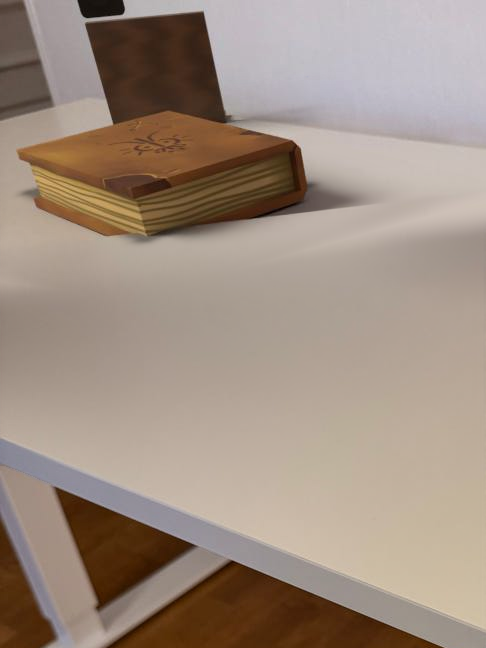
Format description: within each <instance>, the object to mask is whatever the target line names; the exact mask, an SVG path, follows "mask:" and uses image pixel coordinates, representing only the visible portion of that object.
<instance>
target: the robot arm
mask: <svg viewBox="0 0 486 648" xmlns="http://www.w3.org/2000/svg"><path fill="white" fill-rule="evenodd" d="M76 1H77V4H78V9H79V11H80V14H81V16H82V17H83V18H84V19H96V18H106V17H119V16H122V15H124V14H125V12H126V7H125V2H124V0H76Z"/></svg>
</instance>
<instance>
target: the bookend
mask: <svg viewBox="0 0 486 648" xmlns="http://www.w3.org/2000/svg"><path fill="white" fill-rule="evenodd" d="M84 26H85V30H86V32H87V33H86V34H87V37H88V40H89V44H90V47H91V51H92V55H93V58H94V63H95V65H96V69H97V72H98V76H99V80H100V83H101V87H102V90H103V93H104V97H105V100H106V104H107V108H108V111H109V114H110V119H111V121H112V125H114V124H118V123H122V122H126V121H130V120H134V119H138V118H142V117H145V116H149V115H153V114H157V113H161V112H165V111H172V112H176V113H180V114H185V115H189V116H193V117H197V118H201V119H206V120H210V121H214V122H218V123H222V124H225V123H226V124H227V111H226V110H225V107H224V101H223V96H222V91H221V86H220V83H219V78H218V72H217V68H216V67H217V66H216V63H215V58H214V53H213V48H212V44H211V39H210V34H209V29H208V25H207V19H206V15H205V11H204V10H199V11H197V10H196V11H189V12H187V11H186V12H178V13H168V14H166V13H165V14H157V15H156V14H155V15H146V16H136V17H123V18H114V19H104V20H103V19H102V20H92V21H85V22H84Z"/></svg>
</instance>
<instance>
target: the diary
mask: <svg viewBox="0 0 486 648" xmlns="http://www.w3.org/2000/svg"><path fill="white" fill-rule="evenodd" d="M15 151H16V154H17V156H18V160H20V161H23V162H25V163H29V166H30V169H31V172H32V175H33V177H34V180H35V183H36V186H37V189H38V192H39V194H40V195H39V196H36V197H33V202H34V204H35V207H36V208H37V207H38V209H41V210H42V211H45V212H48V213H50V214H53V215H55V216H57V217H60V218H62V219H65V220H67V221H70V222H73V223H74V224H77V225H80V226H82V227H85V228H87V229H90V230H92V231H94V232H97V233H100V234H102V235H104V236H107V237H112V236H123V235H130V234H137V233H138V234H141V235H142V236H146V237H148V236H151V235H154V234H157V233H160V232H163V231H166V230H170V229H171V230H172V229H178V228H180V229H181V228H187V227H195V226H205V225H213V224H220V223H221V224H222V223H228V222H237V221H246V220H248V219H251V218H255V217H258V216H260V215H264V214H266V213H269V212H273V211H275V210H278V209H281V208H283V207H284V208H285V207H287V206H290V205H293V204H296V203H299V202H302V201H304V200H305V196H306V194H307V192H308V182H307V177H306V170H305V164H304V160H303V159H304V158H303V153H302V148H301V147H300V146H299V145H298V144H297V142H295V141H294V140H293V139H288V138H285V137H281V136H276V135H274V134H273V135H272V134H269V133H268V134H267V133H265V132H260V131H256V130H251V129H247V128H242V127H239V126H234V125H230V124H227V123H226V124H225V123H218V122H214V121H210V120H206V119H201V118H197V117H193V116H189V115H185V114H180V113H176V112H172V111H165V112H161V113H157V114H153V115H149V116H145V117H142V118H138V119H134V120H130V121H126V122H122V123H118V124H114V125H113V124H110V125H106V126H102V127H99V128H95V129H91V130H88V131H83V132H80V133H76V134H72V135H68V136H64V137H60V138H56V139H52V140H49V141H44V142H40V143H36V144H33V145H29V146H25V147H20V148H17V149H16V150H15Z"/></svg>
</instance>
